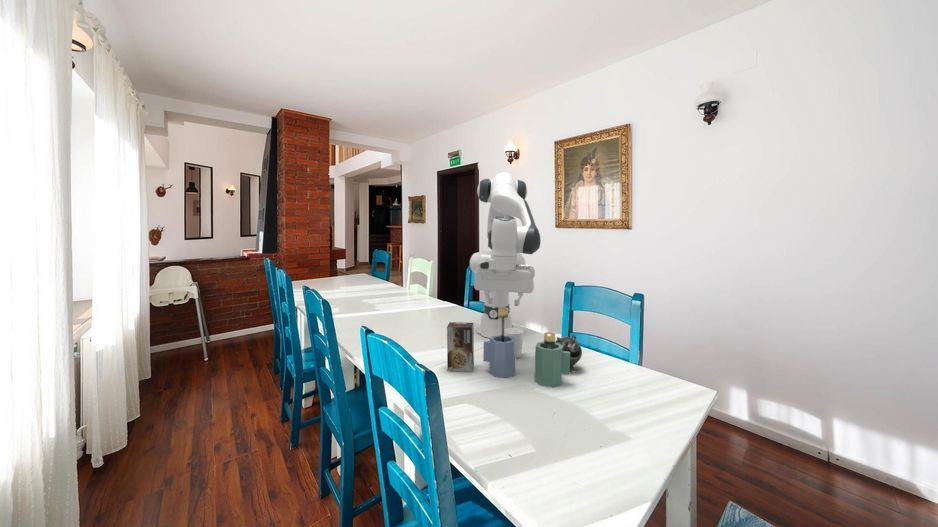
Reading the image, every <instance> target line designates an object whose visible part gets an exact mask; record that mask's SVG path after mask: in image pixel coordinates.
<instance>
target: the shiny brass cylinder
mask: <svg viewBox="0 0 938 527" xmlns="http://www.w3.org/2000/svg"><path fill="white" fill-rule="evenodd" d="M543 334H544V335H543V336H544V338H543V342H544V343H545V344H548V349H551V345H553V344H555V341H556V334H555V333H554V332H549V331H547V332H544V333H543Z"/></svg>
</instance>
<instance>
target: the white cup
mask: <svg viewBox="0 0 938 527" xmlns="http://www.w3.org/2000/svg"><path fill="white" fill-rule="evenodd" d="M504 335H505V336H511V337H513V338H515V339H516V353H515V359H520V358H521V357H522V351H523V344H524V343H523V341H524V330H523V329H521V328H517V327H516V328H507V329H504Z"/></svg>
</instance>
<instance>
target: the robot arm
mask: <svg viewBox="0 0 938 527" xmlns="http://www.w3.org/2000/svg"><path fill="white" fill-rule="evenodd" d="M477 185H478V186H477V196H478V199H479V201H480V202H483V203H485V204H487V203H489V204H490V205H489V209H488V215H487V224H486V225H487V228H486V237H487V240H488V242H487V247H488V248H489V249H490V250H491V251H486V250H485V251H478V252H475V253H473V254H472V255H471V257H470V259H469V267H470V269H471V271H472V272H473V274H474V280H473V287H474V289H475V290H476V291H483V293H484V294H483V295H484V304H483V313H482V315H481V316H480V321H479V322H480V323H479V329H478V330H476V334H479V335H481V336H482V337H484V338H488V339H490V338H491V337H492V336H498V335H501V334H502V318H499V317H498V308H499V307H506V308H508V318H504V329H507V328H517V326H516V325H514V324H513V323H512V322H513V317H512V316H511V314H510V313H511V312H510V311H511V309H510V308H511V307H510V303H509V300H510V299H509V298H510V296H509V293H516V294H517V296H518V298H517V299H515V300H514V303H513V304H514V306H517V307H519V306H520V300H521V299H522V297H523V296H524V294H531V293H533V291H534V290H535V285H534V284H535V282H534V277H535V274H536V272H535V268H534V267H533V266H531V264H526V260H525V258H524V256H523V254H524V255H525V254H526V255H533V254H534V253H536V252H537V251H538V250H539V249H540V247H541V244H542V243H541V242H542V241H541V240H542V239H541V238H542V237H541V233H540V231H539V229H538V227H537V225H536V223H535V220H534V217H533V215H532V214H533V213H532V210H531V209H530V206H529V203H528V202H527V200H526V198H527V196H528V188H527V184H526V182H525V181H523V180H521V179H520V180H519V179H515V177H514V176H513V175H512V174H511V173H510V172H508V171H506V172H504V171H503V172H499V173H497V174H496V175H494V178H492V179H491V178H483V179H482V180H480V181H479V184H477ZM517 219H519V221H520V222H521V226H519V225H518V224H517Z"/></svg>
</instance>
